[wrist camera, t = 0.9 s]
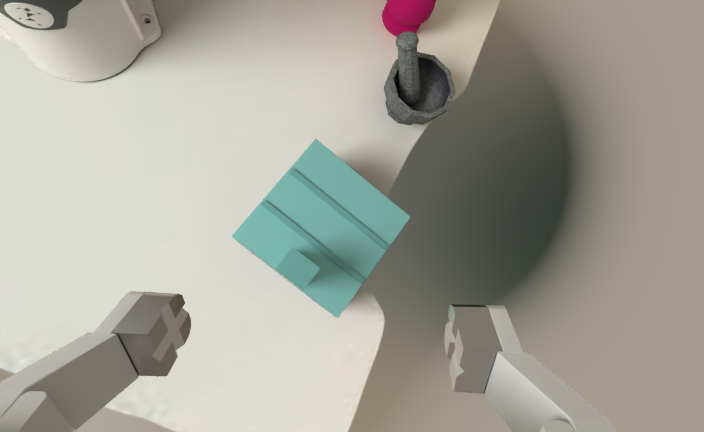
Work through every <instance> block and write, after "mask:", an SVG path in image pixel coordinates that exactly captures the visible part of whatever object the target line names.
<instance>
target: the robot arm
mask: <svg viewBox="0 0 704 432" xmlns="http://www.w3.org/2000/svg"><path fill="white" fill-rule="evenodd" d="M147 21H150V23H148V24H147V23H146V22H147ZM160 36H161V28H160V25H159V22H158V19H157V15H156V12H155V9H154V5H153V2H152V0H0V37H1V38H3V39H5V40H6V41H8V42H10V43H12V44H14V45H16V46H18V47H19V48H20V49H21V50H22V51H23V52H24V53H25V55H26V56H27V57H28V58H29V59H30V60H31V61H32V62H33V63H34V64H35V65H36V66H38V67H39V68H40V69H42V70H43V71H45V72H47V73H49V74H51V75H53V76H56V77H58V78H62V79H65V80H70V81H79V82H88V81H97V80H101V79H105V78H108V77H111V76H113V75H115V74H117V73H119V72H121V71H122V70H124V69H125V68H126V67H127V66H129V65H130V64H131V63H132V61H133V60H134V59H135V58H136V56H137V55H138V54H139V52H140V51H141V50H142V49H143V48H144V47H146V46H148V45H149V44H151V43H153V42H154V41H156V40H157V39H158V38H159V37H160ZM184 304H185V302H184V299H183V297H182V295H180V294H172V293H156V292H136V291H131V292H129V293H127V294H126V295H125V296H124V297H123V298H122V299H121V301H120V302H119V303H118V304H117V305H116V307H115V308H114V309H113V310H112V311H111V313H110V314H109V315H108V316H107V317H106V319H105V320H104V321H103V322H102V323H101V324H100V326H99V327H98V328H97V329H96V330H95V332H94V333H87V334H85V335H83V336H82V337H80V338H78V339H76V340H75V341H73V342H71V343H69V344H67V345H66V346H64V347H62V348H60V349H59V350H57V351H55V352H53V353H51V354H50V355H48V356H46V357H44V358H43V359H41V360H39V361H37V362H36V363H34V364H32V365H30V366H28V367H27V368H25V369H23V370H21V371H20V372H18V373H16V374H14V375H12V376H11V377H9V378H7V379H5V380H4V381H2V382H0V432H76V431H75V430H77V429H78V428H79V427H80V426H81V425H83V424H84V423H85V422H86V421H87V420H88V419H90V418H91V417H92V416H93V415H94V414H96V413H97V412H98V411H99V410H100V409H101V408H103V407H104V406H105V405H106V404H107V403H109V402H110V401H111V400H112V399H113V398H114V397H116V396H117V395H118V394H119V393H120V392H122V391H123V390H124V389H125V388H126V387H128V386H129V385H130V384H131V383H132V382H133V381H135V380H136V379H137V378H138V376H167V375H168V373H169V371H170V369H171V368H172V366H173V364H174V362H175V360H176V359H177V357H178V356H177V352H176V350H177V349H178V348H180V347H181V346H182V345H184V344H185V342H186V340H187V338H188V336H189V333H190V328H191V319H190V316H189V313H188V312H186V311H185V310H184V309H183V308H182V307H183V306H184ZM448 316H449V320H450V322H448V323H447V324H446V328H445V349H446V355H447V357H448V358H449V359H450V360H451V364H450V369H449V371H450V376H451V381H452V386H453V391H455V392H468V393H481V394H484V396H485V397H486V399H487V400H488V401H489V402H490V404H491V405H492V406H493V407H494V409H495V410H496V411H497V412H498V413H499V415H500V416H501V417H502V419H503V420H504V421H505V422H506V424H507V425H508V426H509V427H510V429H511V430H512V431H513V432H616V430H615V428H614V426H613V424H612V423H611V422H610V421H609V420H608V419H607V418H606V417H604V416H603V415H602V414H601V413H600V412H599V411H597V410H596V409H595V408H594V407H592V406H591V405H590V404H589V403H588V402H587V401H585V400H584V399H583V398H582V397H581V396H580V395H578V394H577V393H576V392H575V391H574V390H572V389H571V388H570V387H569V386H568V385H567V384H565V383H564V382H563V381H562V380H561V379H560V378H558V377H557V376H556V375H555V374H554V373H553V372H551V371H550V370H549V369H548V368H547V367H545V366H544V365H543V364H542V363H541V362H540V361H538V360H537V359H536V358H535V357H533V356H532V355H531V354H530V353H524V351H523V349H522V346H521V344H520V342H519V339H518V337H517V334H516V332H515V330H514V327H513V324H512V322H511V320H510V317H509V315H508V312H507V310H506V308H505V307H504V306H488V305H486V306H484V305H454V304H451V306H450V307H449V312H448Z"/></svg>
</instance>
